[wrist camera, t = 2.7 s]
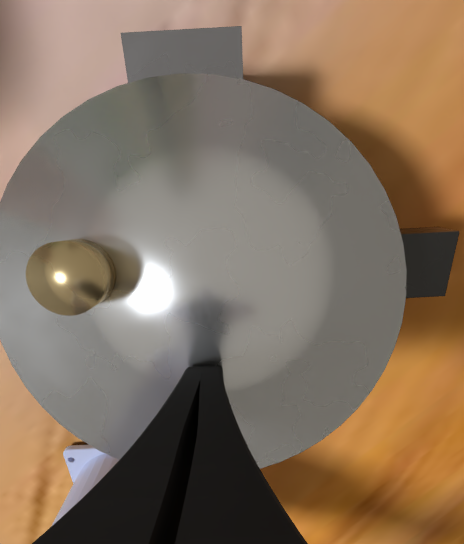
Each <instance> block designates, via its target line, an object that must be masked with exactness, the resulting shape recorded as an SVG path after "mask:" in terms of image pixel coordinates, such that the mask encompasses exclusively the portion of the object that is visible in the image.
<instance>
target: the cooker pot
mask: <svg viewBox="0 0 464 544" xmlns="http://www.w3.org/2000/svg"><path fill="white" fill-rule="evenodd" d="M121 38H122V45H123V52H124V58H125V65H126V71H127V78H128V83H131V82H134V81H138V80H141V79H145V78H148V77H156V76H164V75H171V74H179V73H185V74H215V75H221V76H227V77H233V78H239V79H243V61H242V29H241V26H235V27H217V28H199V29H182V30H164V31H146V32H129V33H121ZM400 233H401V237H402V240H403V245H404V253H405V262H406V270H407V273H406V298H414V297H434V296H445V293H446V288H447V284H448V280H449V275H450V271H451V266H452V262H453V258H454V253H455V249H456V245H457V240H458V236H459V231H456V230H451V229H446V228H441V227H425V228H406V229H400Z"/></svg>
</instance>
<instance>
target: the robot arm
mask: <svg viewBox="0 0 464 544" xmlns="http://www.w3.org/2000/svg"><path fill="white" fill-rule="evenodd" d="M63 455H64V458H65V461H66V464H67V466H68V469H69V472H70V475H71V478H72V481H73V483H74V484H73V486H72V488H71V490H70V492H69V494H68V495H67V497H66V499H65V501H64V503H63V505H62V507H61V509H60V511H59V513H58V515H57V517H56V519H55V521H54V522H53V524H52V526H51V527H50V528H49V529H48V530H47V531H46V532H45V533H44V534H43V535H41V536H40V537H39V538H38V539H37V540H36V541H35V542H34V543H32V544H307V542H306V541H305V539H304V538H303V537H302V535H301V534H300V532H299V531H298V529H297V528H296V526H295V525H294V523H293V522H292V520H291V519H290V517H289V516H288V514H287V513H286V511H285V510H284V508H283V507H282V505H281V504H280V502H279V500H278V499H277V497H276V495H275V494H274V492H273V491H272V489H271V487H270V486H269V484H268V482H267V481H266V479H265V477H264V476H263V474H262V472H261V470H260V469H259V467H258V465H257V463H256V461H255V459H254V457H253V456H252V454H251V452H250V450H249V448H248V446H247V444H246V442H245V439H244V437H243V435H242V433H241V431H240V428H239V426H238V424H237V421H236V419H235V416H234V414H233V411H232V408H231V405H230V402H229V399H228V396H227V393H226V389H225V385H224V379H223V368H222V367H221V366H201V367H188V368H187V369H186V370H185V371H184V373H183V375H182V377H181V378H180V380H179V382H178V383H177V385H176V386H175V388H174V390H173V391H172V393H171V394H170V396H169V397H168V399H167V400H166V402H165V403H164V404H163V406H162V407H161V409H160V410H159V412H158V413H157V414H156V416H155V417H154V418H153V420H152V421H151V422H150V424H149V425H148V426H147V428H146V429H145V430H144V431H143V433H142V434H141V435H140V436H139V438H138V439H137V440H136V441H135V443H134V444H133V445H132V446H131V447H130V448H129V450H128V451H127V452H126V453H125V454H124V455H123V456H122V458H121V459H120V460H118V459H116V458H114V457H111V456H109V455H107V454H105V453H103V452H101V451H99V450H97V449H95V448H94V447H92V446H90V445H71V446H68V447H66V449H65V450H64V452H63Z"/></svg>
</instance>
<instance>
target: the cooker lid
mask: <svg viewBox="0 0 464 544" xmlns="http://www.w3.org/2000/svg"><path fill="white" fill-rule="evenodd" d="M406 273H407V270H406V262H405V253H404V245H403V240H402V237H401V233H400V229H399V225H398V221H397V217H396V215H395V212H394V210H393V208H392V205H391V203H390V201H389V198H388V196H387V193H386V191H385V189H384V187H383V186H382V184H381V182H380V181H379V179H378V177H377V176H376V174H375V172H374V171H373V169H372V167H371V166H370V164H369V163H368V162H367V161H366V159H365V158H364V157H363V156H362V154H361V153H360V152H359V151H358V150H357V148H356V147H355V146H354V145H353V143H352V142H351V141H350V140H349V139H348V138H347V137H345V136H344V135H343V134H342V133H341V132H340V131H339V130H338V129H337V128H336V127H335V126H334V125H333V124H331V123H330V122H329V121H328V120H327V119H325V118H324V117H322V116H321V115H319V114H318V113H316V112H315V111H313V110H312V109H311V108H309V107H308V106H306V105H305V104H303V103H301V102H299V101H297V100H295V99H293V98H291V97H289V96H287V95H285V94H283V93H281V92H279V91H277V90H275V89H272V88H269V87H266V86H263V85H260V84H257V83H254V82H251V81H247V80H244V79H239V78H233V77H227V76H221V75H215V74H185V73H179V74H171V75H164V76H156V77H148V78H145V79H141V80H138V81H134V82H131V83H127V84H124V85H120V86H117V87H115V88H113V89H111V90H108V91H106V92H104V93H102V94H100V95H97V96H95V97H93V98H91V99H89V100H87V101H86V102H84V103H83V104H81V105H80V106H78V107H77V108H75V109H74V110H72V111H71V112H69V113H68V114H66V115H65V116H63V117H62V118H61V119H60V120H59V121H58V122H56V123H55V124H54V125H53V126H52V127H51V128H50V129H49V130H48V131H46V132H45V133H44V134H43V135H42V136H41V137H40V138H39V139H38V141H37V142H36V143H35V144H34V146H33V147H32V148H31V149H30V150H29V152H28V153H27V154H26V155H25V157H24V158H23V159H22V160H21V162H20V164H19V166H18V167H17V169H16V171H15V172H14V174H13V176H12V177H11V179H10V181H9V183H8V184H7V187H6V189H5V191H4V194H3V196H2V199H1V201H0V340H1V343H2V345H3V347H4V349H5V351H6V353H7V355H8V357H9V360H10V362H11V364H12V366H13V368H14V369H15V371H16V372H17V374H18V375H19V377H20V379H21V380H22V382H23V383H24V385H25V386H26V388H27V389H28V390H29V391H30V393H31V394H32V395H33V396H34V398H35V399H36V400H37V401H38V403H39V404H40V405H41V406H42V407H43V408H44V409H45V410H46V411H47V412H48V413H49V414H50V415H51V416H52V417H53V418H54V419H55V420H56V421H57V422H58V423H59V424H61V425H62V426H63V427H65V428H66V429H67V430H68V431H70V432H71V433H72V434H74V435H75V436H76V437H78V438H79V439H81V440H82V441H84V442H85V443H87V444H89V445H90V446H92V447H94V448H95V449H97V450H99V451H101V452H103V453H105V454H107V455H109V456H111V457H114V458H116V459H118V460H120V459H121V458H122V456H123V455H124V454H125V453H126V452H127V451H128V450H129V448H130V447H131V446H132V445H133V444H134V443H135V441H136V440H137V439H138V438H139V436H140V435H141V434H142V433H143V431H144V430H145V429H146V428H147V426H148V425H149V424H150V422H151V421H152V420H153V418H154V417H155V416H156V414H157V413H158V412H159V410H160V409H161V407H162V406H163V404H164V403H165V402H166V400H167V399H168V397H169V396H170V394H171V393H172V391H173V390H174V388H175V386H176V385H177V383H178V382H179V380H180V378H181V377H182V375H183V373H184V371H185V370H186V369H187V368H188V367H201V366H221V367H222V368H223V379H224V385H225V389H226V393H227V396H228V399H229V402H230V405H231V408H232V411H233V414H234V416H235V419H236V421H237V424H238V426H239V428H240V431H241V433H242V435H243V437H244V439H245V442H246V444H247V446H248V448H249V450H250V452H251V454H252V456H253V457H254V459H255V461H256V463H257V465H258V467H259V469H260V468H264V467H267V466H270V465H273V464H276V463H279V462H281V461H284V460H286V459H288V458H290V457H292V456H294V455H297V454H299V453H301V452H303V451H304V450H306V449H308V448H309V447H311V446H313V445H314V444H316V443H318V442H319V441H321V440H322V439H324V438H325V437H326V436H328V435H329V434H330V433H331V432H333V431H334V430H335V429H337V428H338V427H339V426H340V425H341V424H342V423H343V422H344V421H345V420H346V419H347V418H349V417H350V416H351V415H352V414H353V413H354V412H355V411H356V410H357V409H358V407H359V406H360V405H361V403H362V402H363V401H364V400H365V398H366V397H367V396H368V395H369V393H370V392H371V391H372V389H373V388H374V386H375V385H376V383H377V381H378V380H379V378H380V376H381V375H382V373H383V371H384V370H385V368H386V365H387V363H388V361H389V359H390V356H391V354H392V352H393V350H394V347H395V344H396V341H397V338H398V334H399V331H400V328H401V324H402V319H403V313H404V307H405V300H406Z"/></svg>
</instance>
